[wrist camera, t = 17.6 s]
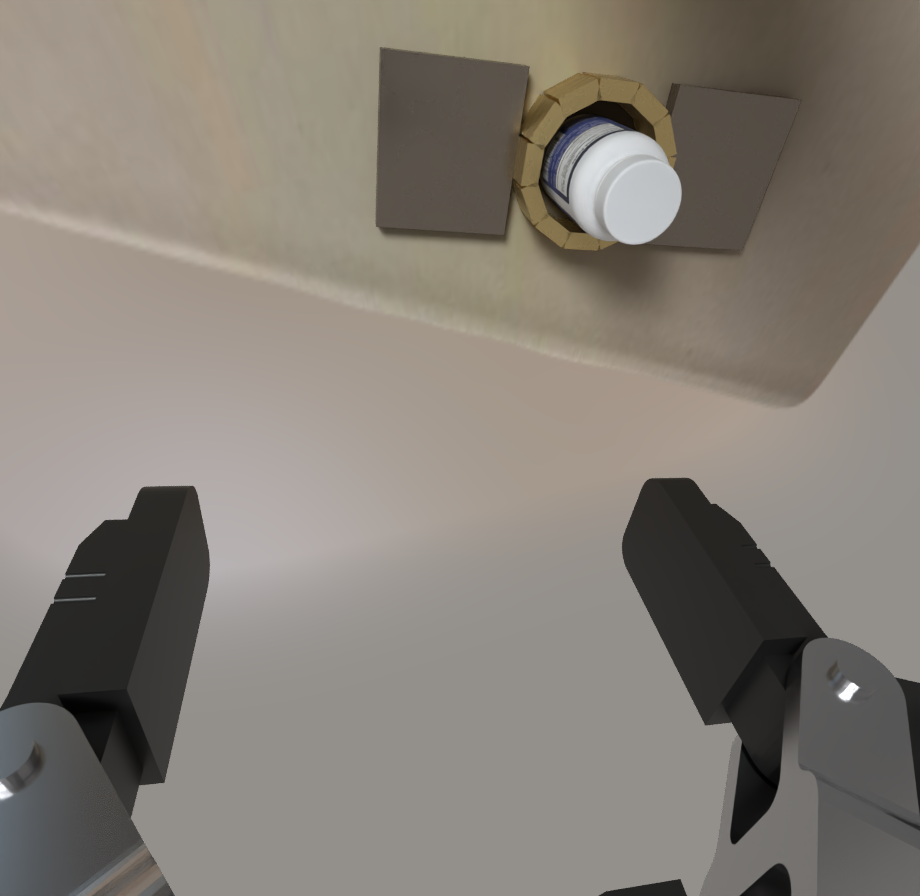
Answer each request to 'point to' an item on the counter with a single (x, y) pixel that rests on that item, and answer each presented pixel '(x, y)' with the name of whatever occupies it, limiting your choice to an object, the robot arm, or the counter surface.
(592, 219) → the pill bottle
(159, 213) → the counter surface
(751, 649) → the robot arm
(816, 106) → the counter surface
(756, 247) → the counter surface
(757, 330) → the counter surface
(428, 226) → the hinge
